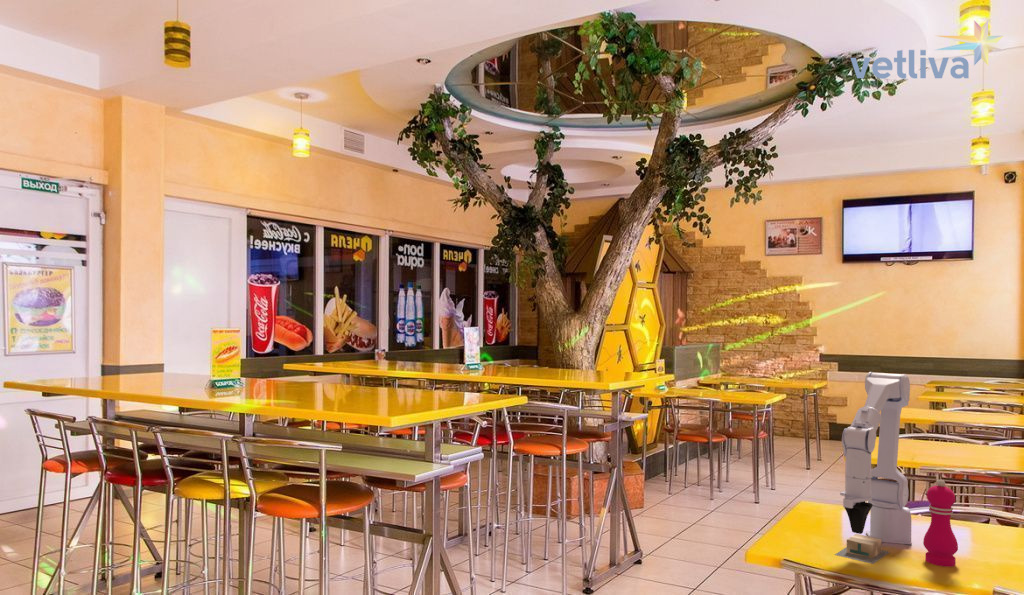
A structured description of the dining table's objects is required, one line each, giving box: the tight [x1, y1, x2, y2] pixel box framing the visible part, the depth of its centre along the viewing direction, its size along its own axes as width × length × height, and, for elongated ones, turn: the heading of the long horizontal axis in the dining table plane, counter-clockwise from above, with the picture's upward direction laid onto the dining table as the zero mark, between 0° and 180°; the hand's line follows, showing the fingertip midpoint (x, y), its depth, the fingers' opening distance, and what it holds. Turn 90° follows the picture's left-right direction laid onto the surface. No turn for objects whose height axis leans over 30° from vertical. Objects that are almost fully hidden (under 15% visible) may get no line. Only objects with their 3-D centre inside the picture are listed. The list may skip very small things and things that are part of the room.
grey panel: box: [834, 546, 890, 565], centre depth 181 cm, size 13×9×1 cm
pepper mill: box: [922, 479, 959, 568], centre depth 176 cm, size 7×7×20 cm
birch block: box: [846, 533, 882, 558], centre depth 182 cm, size 3×6×7 cm
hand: (857, 532), depth 179 cm, fingers closed
